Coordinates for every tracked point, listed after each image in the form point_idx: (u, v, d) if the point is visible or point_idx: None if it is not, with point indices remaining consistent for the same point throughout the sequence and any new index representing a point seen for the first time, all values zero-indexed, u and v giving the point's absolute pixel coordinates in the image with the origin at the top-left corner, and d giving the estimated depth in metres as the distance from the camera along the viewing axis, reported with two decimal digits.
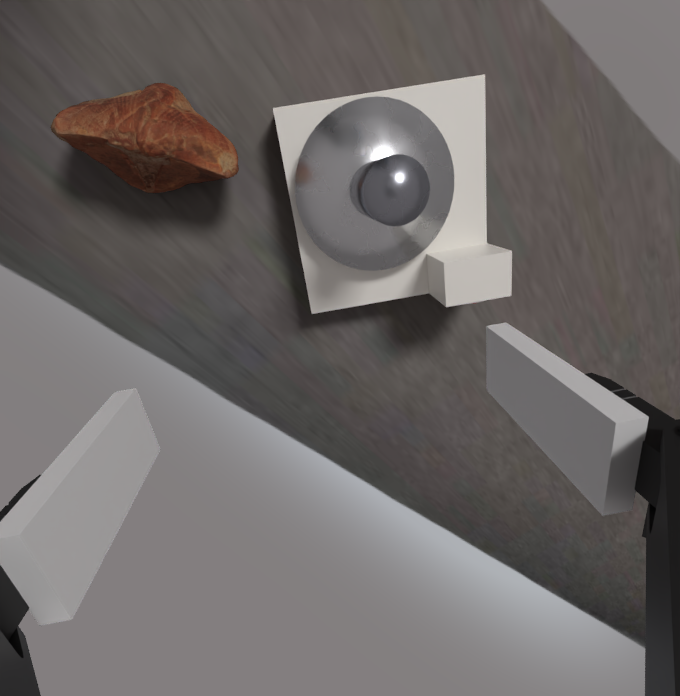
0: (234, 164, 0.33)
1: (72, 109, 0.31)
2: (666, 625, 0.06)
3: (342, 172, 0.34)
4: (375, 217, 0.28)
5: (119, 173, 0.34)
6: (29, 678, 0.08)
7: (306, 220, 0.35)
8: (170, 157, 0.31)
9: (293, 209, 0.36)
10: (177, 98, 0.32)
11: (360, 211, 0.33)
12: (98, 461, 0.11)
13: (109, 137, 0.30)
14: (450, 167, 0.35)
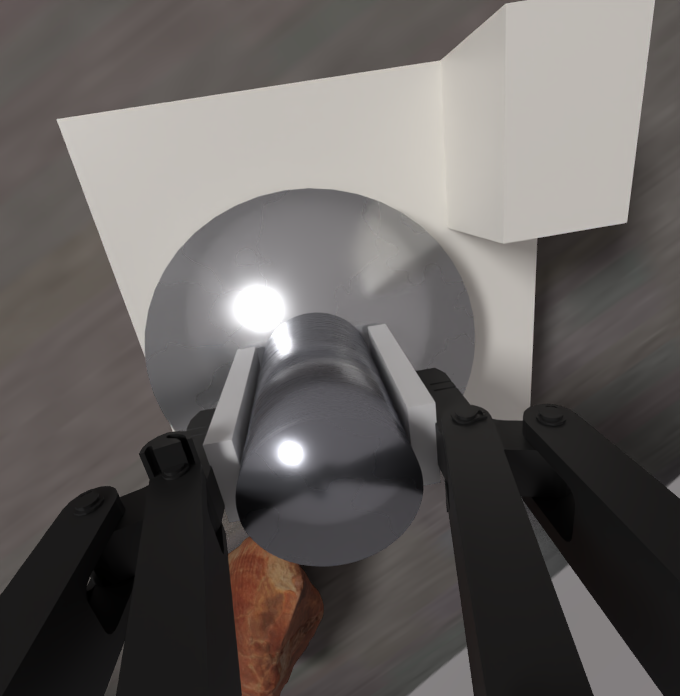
0: (283, 562, 0.22)
1: None
2: (468, 596, 0.06)
3: None
4: (395, 535, 0.11)
5: (301, 653, 0.26)
6: (226, 573, 0.09)
7: None
8: (279, 652, 0.22)
9: None
10: None
11: None
12: (250, 399, 0.13)
13: None
14: (262, 203, 0.15)
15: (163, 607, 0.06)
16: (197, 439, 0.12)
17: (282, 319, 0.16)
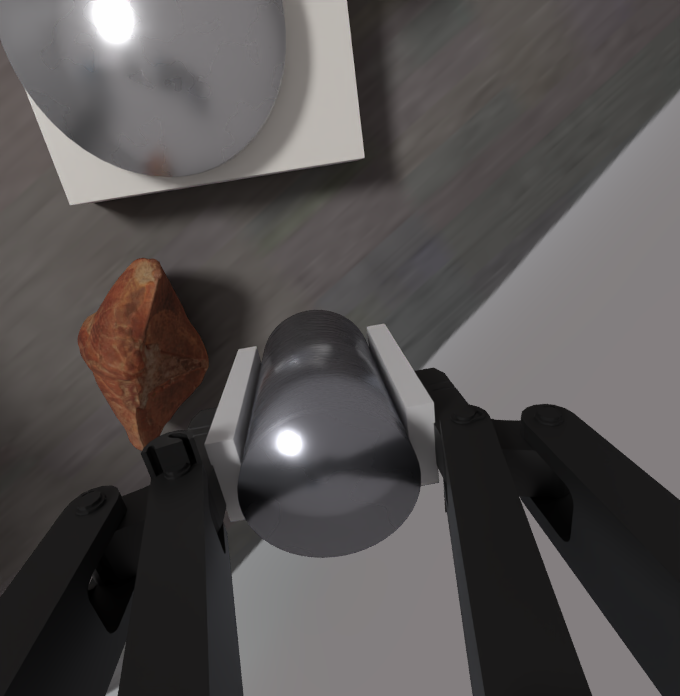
0: (147, 264, 0.25)
1: (125, 428, 0.29)
2: (466, 596, 0.06)
3: (126, 92, 0.21)
4: (394, 527, 0.11)
5: (185, 394, 0.29)
6: (227, 572, 0.09)
7: (210, 159, 0.23)
8: (144, 344, 0.25)
9: (202, 181, 0.24)
10: (86, 325, 0.26)
11: None
12: (251, 399, 0.13)
13: (133, 406, 0.26)
14: None
15: (165, 606, 0.06)
16: (199, 439, 0.12)
17: None
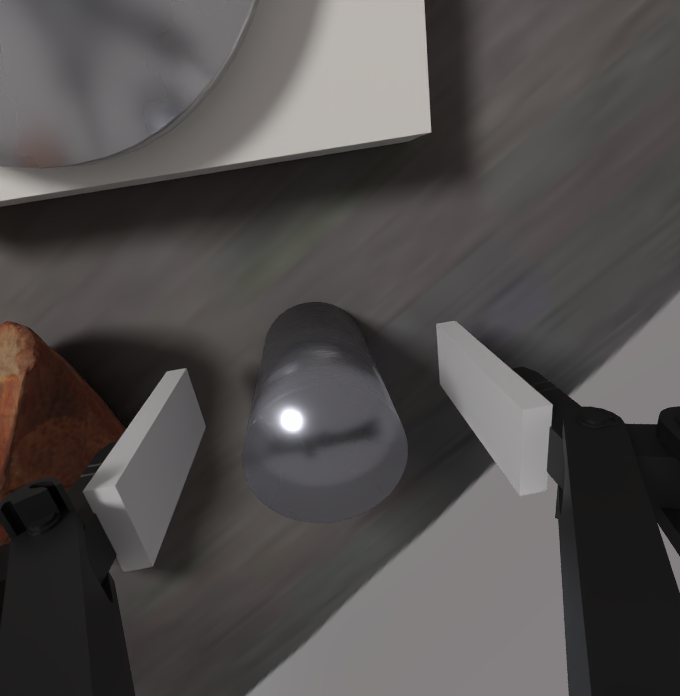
0: (13, 337, 0.13)
1: None
2: (577, 602, 0.06)
3: None
4: (384, 495, 0.12)
5: None
6: (116, 622, 0.08)
7: (118, 131, 0.11)
8: (7, 491, 0.13)
9: (116, 177, 0.12)
10: None
11: None
12: (164, 430, 0.12)
13: None
14: None
15: (37, 673, 0.06)
16: None
17: None
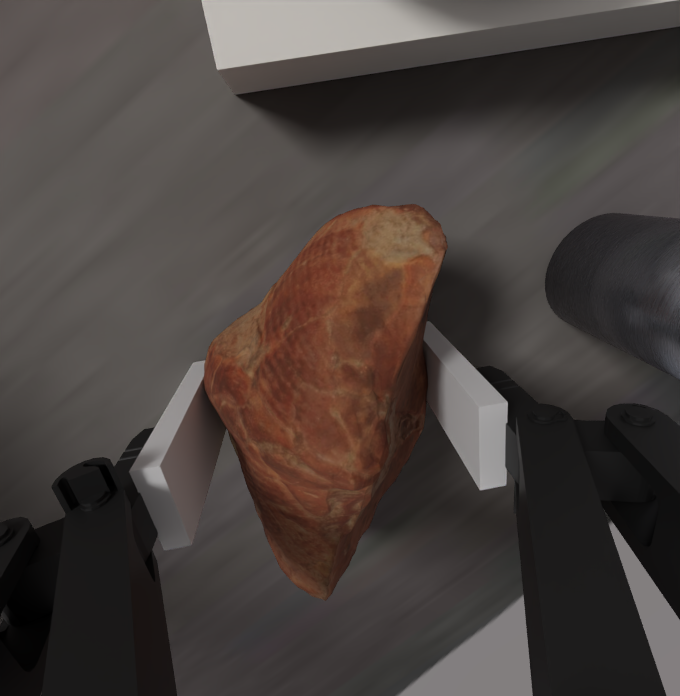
0: (397, 217, 0.11)
1: (273, 546, 0.15)
2: (535, 597, 0.06)
3: None
4: None
5: (391, 481, 0.15)
6: (158, 600, 0.09)
7: None
8: (388, 404, 0.11)
9: (528, 16, 0.10)
10: (232, 354, 0.12)
11: None
12: (196, 417, 0.13)
13: (337, 532, 0.12)
14: None
15: (86, 644, 0.06)
16: (133, 462, 0.11)
17: None
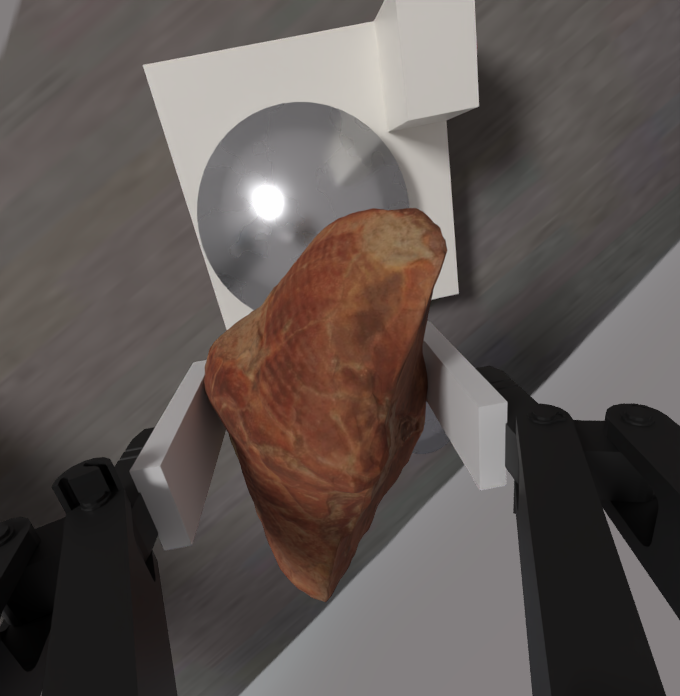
0: (398, 220, 0.11)
1: (273, 548, 0.15)
2: (535, 597, 0.06)
3: (288, 269, 0.27)
4: (446, 441, 0.30)
5: (391, 483, 0.15)
6: (158, 600, 0.09)
7: None
8: (389, 406, 0.11)
9: None
10: (233, 356, 0.12)
11: None
12: (196, 417, 0.13)
13: (338, 535, 0.12)
14: (268, 112, 0.24)
15: (87, 644, 0.06)
16: (133, 462, 0.11)
17: (283, 191, 0.26)
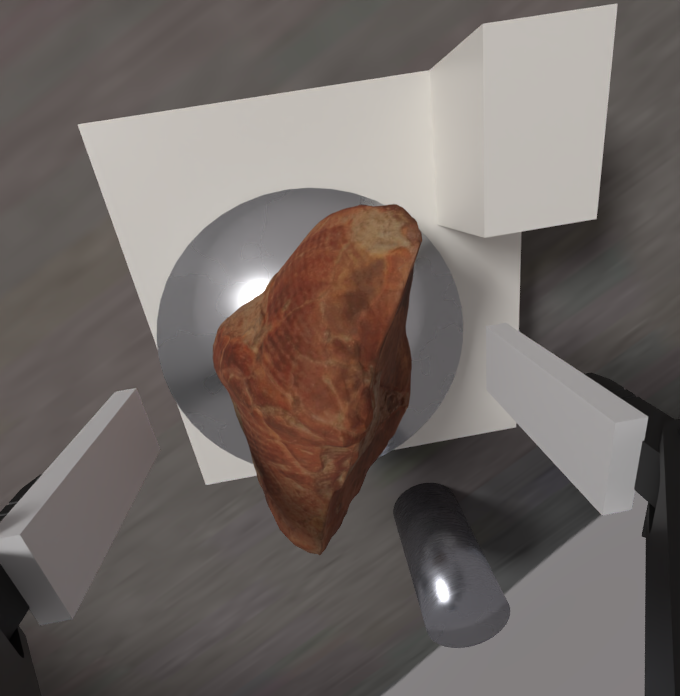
0: (381, 215, 0.12)
1: (273, 509, 0.17)
2: (666, 625, 0.06)
3: None
4: (494, 633, 0.22)
5: (379, 451, 0.17)
6: (29, 678, 0.08)
7: None
8: (373, 374, 0.12)
9: None
10: (239, 334, 0.14)
11: None
12: (99, 461, 0.11)
13: (330, 488, 0.14)
14: (265, 202, 0.16)
15: None
16: None
17: None
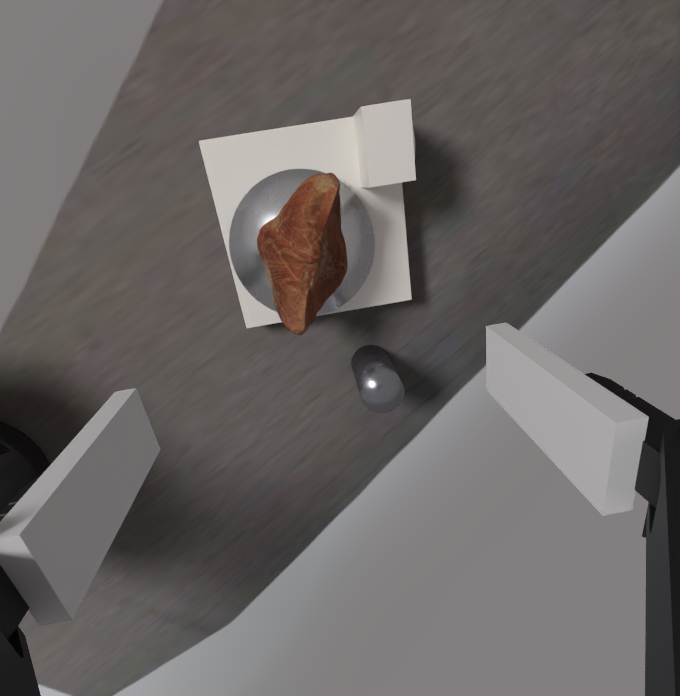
0: (325, 176, 0.33)
1: (283, 317, 0.37)
2: (666, 625, 0.06)
3: None
4: (397, 404, 0.42)
5: (331, 290, 0.37)
6: (29, 678, 0.08)
7: (329, 308, 0.41)
8: (322, 237, 0.33)
9: None
10: (270, 227, 0.34)
11: None
12: (99, 461, 0.11)
13: (307, 288, 0.34)
14: (280, 174, 0.36)
15: None
16: None
17: None
